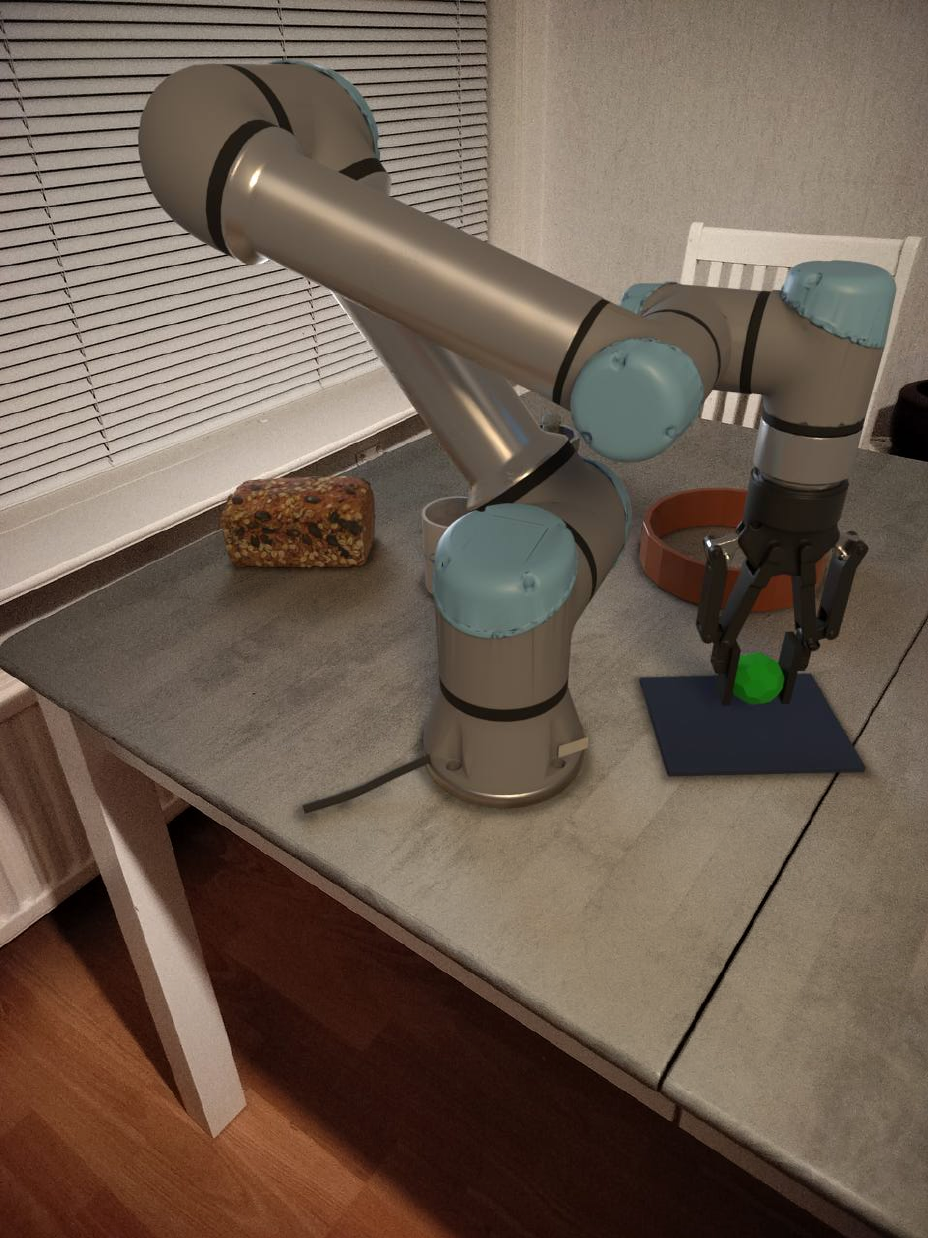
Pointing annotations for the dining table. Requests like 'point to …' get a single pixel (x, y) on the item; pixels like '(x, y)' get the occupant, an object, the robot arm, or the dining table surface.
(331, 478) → the bread
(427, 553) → the mug
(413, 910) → the dining table surface
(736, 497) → the orange bottomless ring
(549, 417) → the mortar and pestle
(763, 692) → the polyhedron
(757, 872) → the dining table surface
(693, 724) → the mat
